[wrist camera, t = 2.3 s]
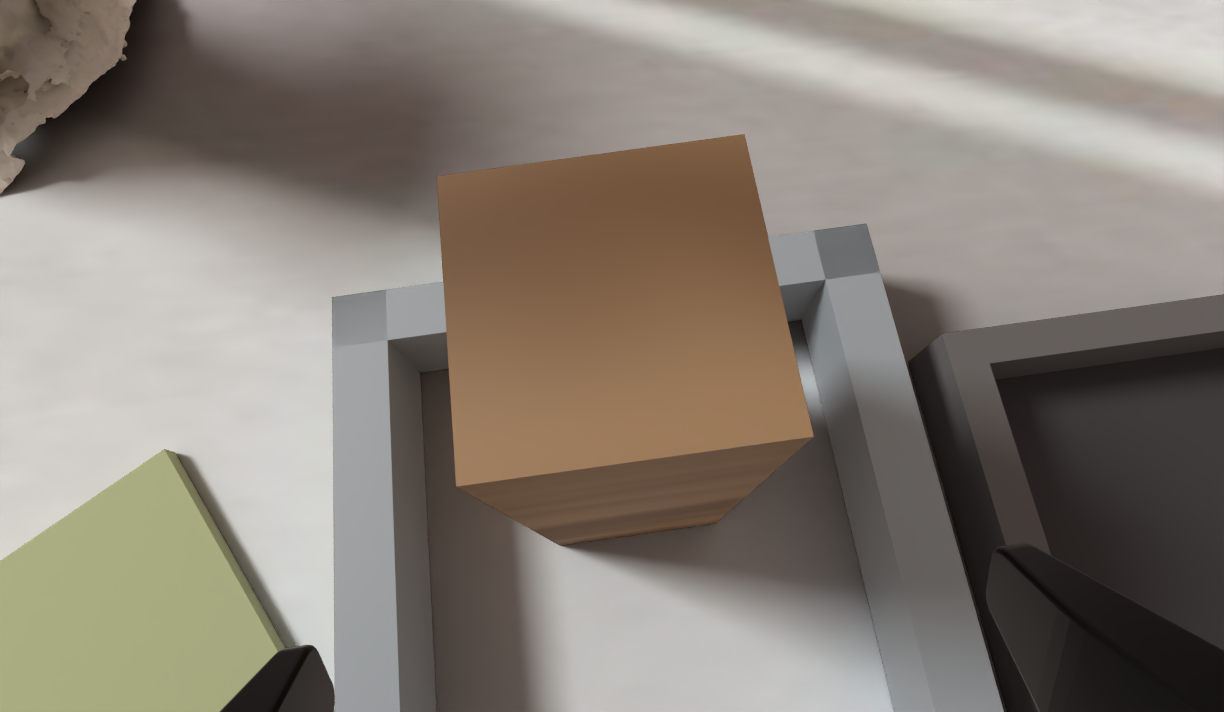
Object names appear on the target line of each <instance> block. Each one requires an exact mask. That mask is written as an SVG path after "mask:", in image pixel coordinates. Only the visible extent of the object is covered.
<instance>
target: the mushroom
mask: <svg viewBox="0 0 1224 712" xmlns="http://www.w3.org/2000/svg"><path fill="white" fill-rule="evenodd" d="M135 2H136V0H0V193H2V192H3V190H4V189H5V188H6V187H7V186H8V185H9V184H10V183H12V182H13V179H14V178H15V176H17V175H18V174H19V173H20V171H21V170H22V168H23V166H24V164H25V161H24V160H22V159H18V158H17V157H15V156H14V155H12V154H11V153H12V151H13V149H14V147H15V145H16V144H17V143H20V142H21V141H22V140H25V139H26V138H27V137H28V136H29V135H30V134H31V133H33V132H34V131H35V129H36V127H37V126H38V125H40V124H45V122H46V121H45V119H46V117H47V118H50V117H52V118H56V117H58V116H59V115H60V114H61V113H63V112H64V111H65V110H66V109H67V108H68V107H69V105H70V104H72V103H73V102H74V101H75V100H77V99H79V98H80V97H81V96H82V95H83V94H84V93H86V91H87V89H88V87H89V85H90V84H91V83H92V82H94V81H95V80H96V79H97V78H99V77H100V76H101V75H103V74H105V73H106V72H107V70H109V69H110V68H112V67H114V66H115V65H116V62H118V60H119V58H120V59H121V60H123V61H124V60H126V59H127V58H126V56H125V55H123V54H122V48H125V47H127V42H126V41H125V40H124V39H125V35H126V32H127V31H128V29H129V27H130V21H129V16H130V15H131V12H132V7H133V5H134V4H135Z"/></svg>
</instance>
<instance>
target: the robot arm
mask: <svg viewBox="0 0 1224 712" xmlns="http://www.w3.org/2000/svg"><path fill="white" fill-rule="evenodd" d="M986 600H987V604H988V607H989V610H990V612H991V614H992V616H993V618H994V620H995V622H996V624H997V627H998V629H999V631H1000V633H1001V635H1002V637H1003V639H1004V641H1005V643H1006V645H1007V647H1008V649H1009V651H1010V653H1011V655H1012V657H1013V659H1014V661H1015V663H1016V665H1017V667H1018V670H1019V672H1020V674H1021V676H1022V678H1023V680H1024V682H1025V684H1026V686H1027V688H1028V690H1029V692H1030V694H1031V696H1032V698H1033V700H1034V702H1035V704H1036V706H1037V708H1038V710H1039V712H1224V650H1223V649H1222V648H1220V647H1218V646H1216V645H1214V644H1212V643H1211V642H1209V641H1207V640H1205V639H1203V638H1201V637H1200V636H1198V635H1196V634H1194V633H1192V632H1190V631H1189V630H1187V629H1185V628H1183V627H1181V626H1179V625H1178V624H1176V623H1174V622H1172V621H1170V620H1168V619H1167V618H1165V617H1163V616H1161V615H1159V614H1157V613H1156V612H1154V611H1152V610H1150V609H1148V608H1146V607H1145V606H1143V605H1141V604H1139V603H1137V602H1136V601H1134V600H1132V599H1130V598H1128V597H1126V596H1125V595H1123V594H1121V593H1119V592H1117V591H1115V590H1114V589H1112V588H1110V587H1108V586H1106V585H1104V584H1103V583H1101V582H1099V581H1097V580H1095V579H1093V578H1092V577H1090V576H1088V575H1086V574H1084V573H1082V572H1081V571H1079V570H1077V569H1075V568H1073V567H1071V566H1070V565H1068V564H1066V563H1064V562H1062V561H1060V560H1059V559H1057V558H1055V557H1053V556H1051V555H1049V554H1048V553H1046V552H1044V551H1042V550H1040V549H1039V548H1037V547H1035V546H1033V545H1030V544H1027V543H1020V544H1013V545H1006V546H999V547H997V548H996V549H995V550H994V551H993V553H992V557H991V563H990V569H989V575H988V581H987V587H986ZM334 703H335V694H334V687H333V684H332V682H331V679H330V677H329V675H328V673H327V670H326V668H325V666H324V664H323V661H322V659H321V657H320V655H319V652H318V651H317V649H316V648H315V647H314V646H312V645H303V646H296V647H289V648H284V649H281V650H280V651H278V652H277V653H276V654H275V655H274V656H273V657H272V658H271V659H270V660H269V661H268V662H267V663H266V664H265V665H264V666H263V667H262V668H261V669H260V670H259V671H258V672H257V673H256V674H255V675H254V676H253V677H252V678H251V679H250V681H249V682H248V683H247V684H246V685H245V686H244V687H243V688H242V689H241V690H240V691H239V692H238V693H237V694H236V695H235V696H234V697H233V698H232V699H231V700H230V701H229V702H228V703H227V704H226V705H225V706H224V707H223V708H222V709H221V710H220V711H219V712H333V711H334Z"/></svg>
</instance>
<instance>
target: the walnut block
mask: <svg viewBox="0 0 1224 712" xmlns="http://www.w3.org/2000/svg"><path fill="white" fill-rule="evenodd" d="M437 188H438V204H439V220H440V237H441V253H442V269H443V285H444V301H445V317H446V333H447V349H448V365H449V381H450V397H451V413H452V429H453V445H454V461H455V478H456V487H458V488H459V489H461V490H463V491H465V492H466V493H468V494H470V495H472V496H473V497H475V498H477V499H479V500H480V501H482V502H484V503H486V504H488V505H489V506H491V507H493V508H495V509H496V510H498V511H500V512H502V513H503V514H505V515H507V516H509V517H510V518H512V519H514V520H516V521H517V522H519V523H521V524H523V525H524V526H526V527H528V528H530V529H531V530H533V531H535V532H537V533H539V534H540V535H542V536H544V537H546V538H547V539H549V540H551V541H553V542H554V543H556V544H558V545H568V544H575V543H582V542H589V541H596V540H603V539H610V538H617V537H624V536H632V535H639V534H646V533H653V532H660V531H667V530H674V529H681V528H688V527H695V526H703V525H710V524H716V523H717V522H718V521H719V520H720V519H721V518H723V517H724V516H725V515H726V514H727V513H728V512H729V511H730V510H732V509H733V508H734V507H735V506H736V505H737V504H738V503H739V502H741V501H742V500H743V499H744V498H745V497H746V496H747V495H748V494H750V493H751V492H752V491H753V490H754V489H755V488H756V487H758V486H759V485H760V484H761V483H762V482H763V481H764V480H765V479H767V478H768V477H769V476H770V475H771V474H772V473H773V472H774V471H776V470H777V469H778V468H779V467H780V466H781V465H782V464H783V463H785V462H786V461H787V460H788V459H789V458H790V457H791V456H792V455H794V454H795V453H796V452H797V451H798V450H799V449H800V448H801V447H803V446H804V445H805V444H806V443H807V442H808V441H809V440H811V439H812V438H813V437H814V435H813V431H812V426H811V422H810V418H809V413H808V409H807V405H806V400H805V396H804V392H803V387H802V383H801V378H800V374H799V370H798V365H797V361H796V357H795V352H794V348H793V344H792V339H791V335H790V331H789V326H788V322H787V317H786V313H785V309H784V304H783V300H782V296H781V291H780V287H779V283H778V278H777V274H776V270H775V265H774V261H773V256H772V252H771V248H770V243H769V239H768V235H767V230H766V226H765V222H764V217H763V213H762V209H761V204H760V200H759V195H758V191H757V187H756V182H755V178H754V174H753V169H752V165H751V161H750V156H749V152H748V147H747V143H746V139H745V134H742V135H735V136H727V137H720V138H713V139H706V140H698V141H691V142H684V143H676V144H669V145H662V146H654V147H647V148H640V149H632V150H625V151H618V152H610V153H603V154H596V155H589V156H581V157H574V158H567V159H559V160H552V161H545V162H537V163H530V164H523V165H515V166H508V167H501V168H493V169H486V170H479V171H472V172H464V173H457V174H450V175H442V176H437Z"/></svg>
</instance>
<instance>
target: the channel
mask: <svg viewBox="0 0 1224 712" xmlns="http://www.w3.org/2000/svg"><path fill="white" fill-rule="evenodd" d="M768 239H769V243H770V248H771V252H772V256H773V261H774V265H775V270H776V274H777V278H778V283H779V287H780V291H781V296H782V300H783V304H784V309H785V313H786V317H787V322H789V321H796V320H802V324H803V328H804V332H805V336H806V341H807V345H808V349H809V353H810V358H811V362H812V366H813V370H814V374H815V379H816V383H817V387H818V391H819V396H820V400H821V404H822V408H823V412H824V417H825V421H826V425H827V429H828V434H829V438H830V442H831V446H832V451H833V455H834V459H835V463H836V467H837V472H838V476H839V480H840V484H841V489H842V493H843V497H844V501H845V505H846V510H847V514H848V518H849V522H850V527H851V531H852V535H853V539H854V544H855V548H856V552H857V556H858V560H859V565H860V569H861V573H862V577H863V582H864V586H865V590H866V594H867V599H868V603H869V607H870V611H871V615H872V620H873V624H874V628H875V632H876V637H877V641H878V645H879V649H880V653H881V658H882V662H883V666H884V670H885V675H886V679H887V683H888V687H889V692H890V696H891V700H892V704H893V708H894V712H1004V710H1003V707H1002V703H1001V699H1000V696H999V692H998V689H997V685H996V682H995V678H994V675H993V671H992V668H991V664H990V660H989V657H988V653H987V650H986V646H985V643H984V639H983V636H982V632H981V628H980V625H979V621H978V618H977V614H976V611H975V607H974V604H973V600H972V596H971V593H970V589H969V586H968V582H967V579H966V575H965V572H964V568H963V565H962V561H961V557H960V554H959V550H958V547H957V543H956V540H955V536H954V533H953V529H952V525H951V522H950V518H949V515H948V511H947V508H946V504H945V501H944V497H943V493H942V490H941V486H940V483H939V479H938V476H937V472H936V469H935V465H934V461H933V458H932V454H931V451H930V447H929V444H928V440H927V437H926V433H925V430H924V426H923V422H922V419H921V415H920V412H919V408H918V405H917V401H916V398H915V394H914V390H913V387H912V383H911V380H910V376H909V373H908V369H907V366H906V362H905V358H904V355H903V351H902V348H901V344H900V341H899V337H898V334H897V330H896V327H895V323H894V319H893V316H892V312H891V309H890V305H889V302H888V298H887V295H886V291H885V287H884V284H883V280H882V277H881V273H880V270H879V266H878V263H877V259H876V255H875V252H874V248H873V245H872V241H871V238H870V234H869V231H868V227H867V224H860V225H852V226H845V227H838V228H830V229H823V230H816V231H809V232H801V233H794V234H787V235H780V236H772V237H768ZM332 366H333V513H334V660H335V712H437V709H436V689H435V668H434V647H433V627H432V606H431V586H430V565H429V545H428V524H427V503H426V483H425V462H424V442H423V421H422V400H421V380H420V373H421V372H429V371H436V370H443V369H449V365H448V349H447V333H446V317H445V301H444V285H443V282H439V283H431V284H424V285H417V286H410V287H402V288H395V289H388V290H380V291H373V292H366V293H359V294H351V295H344V296H337V297H332Z"/></svg>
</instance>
